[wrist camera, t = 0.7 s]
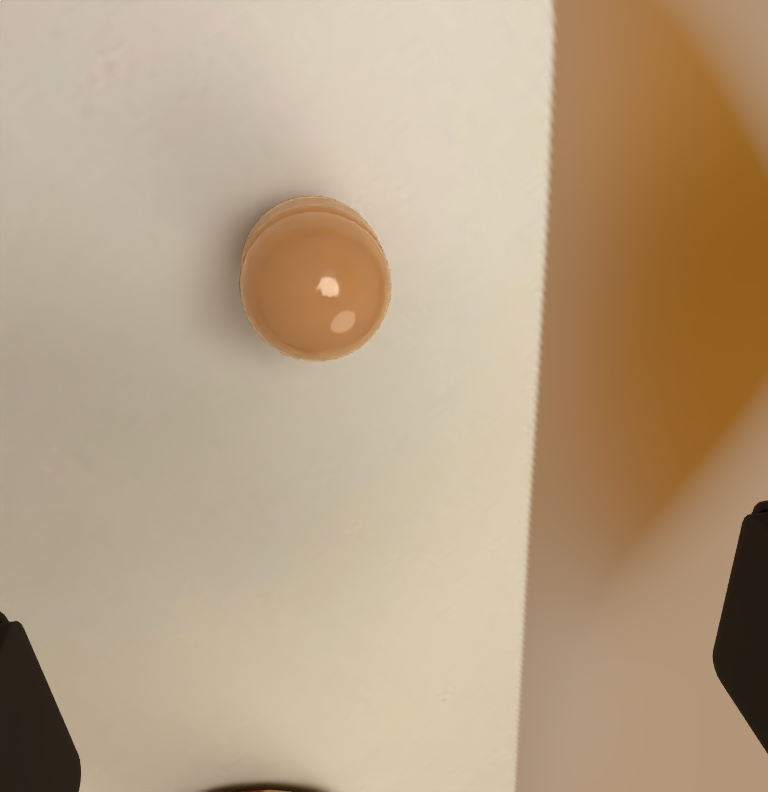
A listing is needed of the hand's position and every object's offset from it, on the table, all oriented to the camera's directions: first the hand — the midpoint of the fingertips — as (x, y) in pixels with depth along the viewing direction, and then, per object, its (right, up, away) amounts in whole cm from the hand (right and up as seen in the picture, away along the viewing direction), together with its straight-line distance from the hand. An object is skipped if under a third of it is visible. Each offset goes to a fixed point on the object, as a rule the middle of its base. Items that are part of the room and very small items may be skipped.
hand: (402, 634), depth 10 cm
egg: (-3, +8, +14) cm, 16 cm away
